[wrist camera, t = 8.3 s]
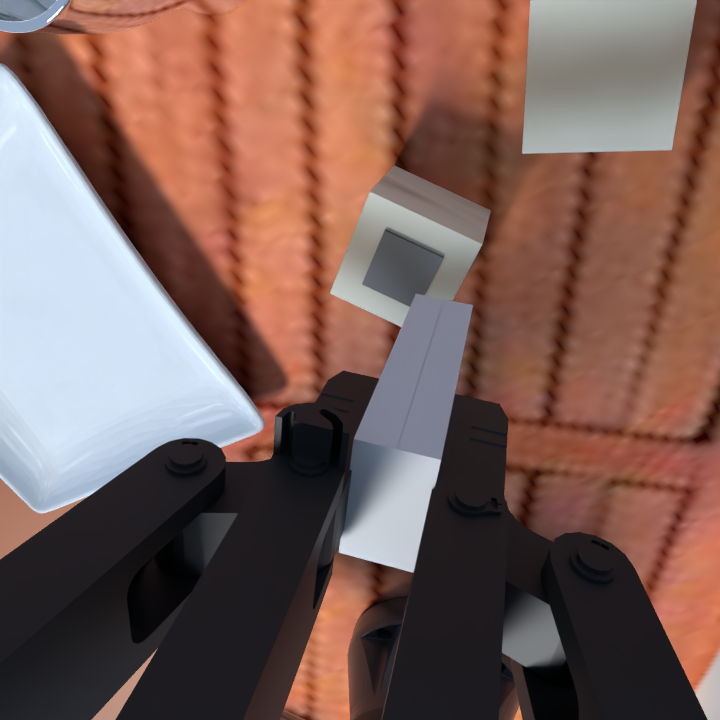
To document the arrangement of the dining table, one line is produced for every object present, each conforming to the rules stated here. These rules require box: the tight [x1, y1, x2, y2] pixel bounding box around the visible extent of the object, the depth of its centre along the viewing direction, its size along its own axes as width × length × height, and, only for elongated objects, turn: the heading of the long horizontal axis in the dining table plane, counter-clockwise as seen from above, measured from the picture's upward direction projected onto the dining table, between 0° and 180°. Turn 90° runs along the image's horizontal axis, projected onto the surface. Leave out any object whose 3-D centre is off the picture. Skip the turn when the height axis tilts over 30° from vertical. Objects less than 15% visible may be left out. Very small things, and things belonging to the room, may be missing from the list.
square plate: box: [0, 63, 265, 513], centre depth 45 cm, size 27×27×4 cm
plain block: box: [522, 0, 697, 154], centre depth 27 cm, size 6×6×6 cm
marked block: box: [330, 165, 491, 327], centre depth 34 cm, size 6×6×6 cm
